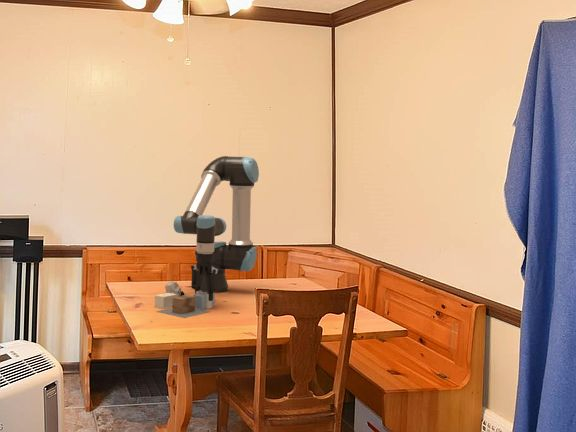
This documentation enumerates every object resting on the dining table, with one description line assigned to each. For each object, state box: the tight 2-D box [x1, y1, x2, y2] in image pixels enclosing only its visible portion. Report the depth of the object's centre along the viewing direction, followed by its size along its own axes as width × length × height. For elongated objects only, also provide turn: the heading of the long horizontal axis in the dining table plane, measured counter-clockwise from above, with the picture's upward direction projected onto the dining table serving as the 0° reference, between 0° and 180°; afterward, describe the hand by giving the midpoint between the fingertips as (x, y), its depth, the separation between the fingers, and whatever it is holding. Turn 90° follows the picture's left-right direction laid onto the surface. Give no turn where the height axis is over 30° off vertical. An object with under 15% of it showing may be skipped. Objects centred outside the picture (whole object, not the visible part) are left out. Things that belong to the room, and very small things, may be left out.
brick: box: [154, 292, 177, 310], centre depth 291 cm, size 8×5×6 cm, turn 146°
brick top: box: [192, 291, 216, 310], centre depth 293 cm, size 8×5×6 cm, turn 146°
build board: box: [154, 307, 212, 319], centre depth 283 cm, size 16×16×1 cm
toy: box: [164, 280, 186, 297], centre depth 304 cm, size 6×12×15 cm
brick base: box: [171, 294, 195, 314], centre depth 283 cm, size 8×5×6 cm, turn 145°
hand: (203, 307), depth 293 cm, fingers closed on brick top, 5 cm apart
